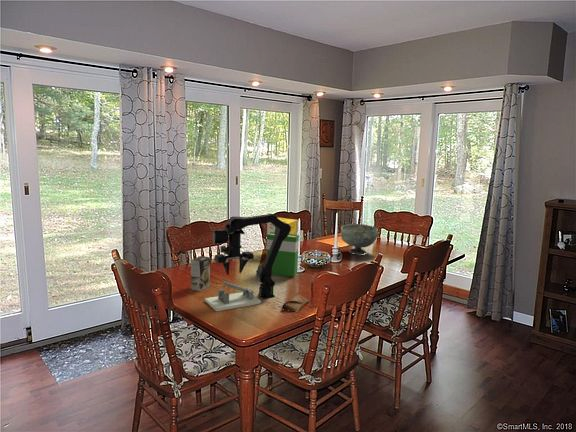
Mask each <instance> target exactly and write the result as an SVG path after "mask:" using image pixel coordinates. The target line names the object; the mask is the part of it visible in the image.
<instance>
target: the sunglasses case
mask: <svg viewBox="0 0 576 432" xmlns="http://www.w3.org/2000/svg"><path fill="white" fill-rule="evenodd" d="M308 300H309V299H308V298H306V297H304V296H303V295H301V294H300V293H299V292H297V293H296V294H294V295H293V296H292V297H290V298H289V299H288V300H287V301H286V302H284V303H283V305H282V307H281V310H283V309H284V310H289V311H288V312H290V311H299V310H300V309H301V308H302V307H303V305H305V304H306V303H307V302H308ZM307 304H308V303H307ZM307 304H306V305H307ZM306 305H305V306H306ZM303 308H304V307H303ZM303 308H302V309H303ZM302 309H301V310H302ZM284 310H283V311H284ZM301 310H300V311H301ZM300 311H299V312H300Z"/></svg>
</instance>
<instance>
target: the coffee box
mask: <svg viewBox="0 0 576 432" xmlns="http://www.w3.org/2000/svg"><path fill="white" fill-rule="evenodd" d="M190 261H191V262H190V264H191V265H190V290H193V291H198V292H202V291H203V290H206V289H207V288H210V287H211V285H210V284H211V281H210V280H211V257H209V256H202V255H200V256H197V257H194V258H192V259H191V260H190Z"/></svg>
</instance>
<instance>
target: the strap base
mask: <svg viewBox="0 0 576 432" xmlns="http://www.w3.org/2000/svg"><path fill="white" fill-rule="evenodd" d="M246 288H247V289H248V290H249V288H248V287H246ZM217 291H218V292H217V293H218V295H217V296H212V297H205V298H204V299H205V303H206V304H208V305H209V306H210V307H211V308H212V309H213V310H214V311H215V312H221V311H222V312H223V311H226V310H232V309H238V308H243V307H248V306H249V307H250V306H254V305H260V304H261V303H262V301H261V299H260V298H258V297H257V296H255V295H254V291H251V292H249V293H247V292H244V291H240V292H237V293H236V292H235V293H228V292H227V293H225V289H223V288H222V289H218V290H217Z"/></svg>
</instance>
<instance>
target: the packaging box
mask: <svg viewBox="0 0 576 432" xmlns="http://www.w3.org/2000/svg"><path fill="white" fill-rule="evenodd" d="M277 218H278V219H279V220H281V221H283V222H285V223H287V224H289V225H290V227H291V231H290V233H289V234H296V235H297V232H298V233H299V226H298V220H299V219H292V218H284V217H277ZM266 224H267V225H266V235H267V234H270V232H275V228H276V227H275V226H274V225H273V224H272V223H271V222H270V223H266Z"/></svg>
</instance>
